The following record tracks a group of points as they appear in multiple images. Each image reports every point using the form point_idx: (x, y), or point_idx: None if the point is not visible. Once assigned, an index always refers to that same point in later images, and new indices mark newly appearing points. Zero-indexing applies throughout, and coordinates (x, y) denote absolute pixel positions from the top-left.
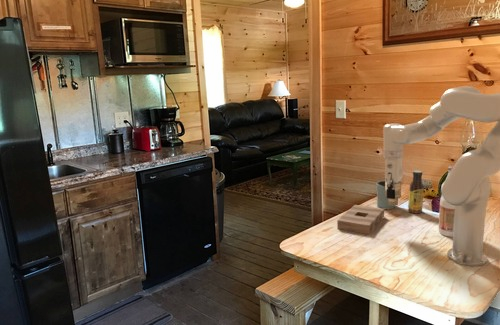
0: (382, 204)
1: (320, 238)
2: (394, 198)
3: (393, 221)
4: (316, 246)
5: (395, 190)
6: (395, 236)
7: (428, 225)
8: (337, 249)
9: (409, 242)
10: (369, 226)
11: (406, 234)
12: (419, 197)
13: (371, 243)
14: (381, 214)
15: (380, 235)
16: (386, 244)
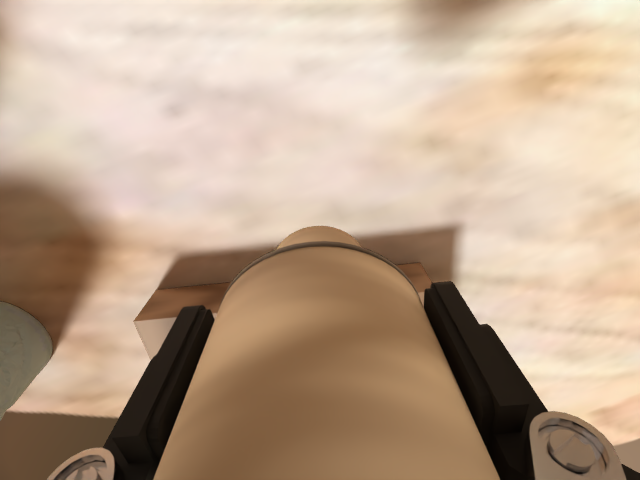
0: (35, 356)
1: (540, 387)
2: (449, 284)
3: (178, 229)
4: (622, 367)
5: (449, 378)
6: (383, 139)
7: (75, 7)
8: (635, 300)
9: (436, 26)
10: (425, 286)
11: (320, 91)
12: None
13: (526, 210)
14: (196, 305)
15: (407, 212)
16: (514, 140)
